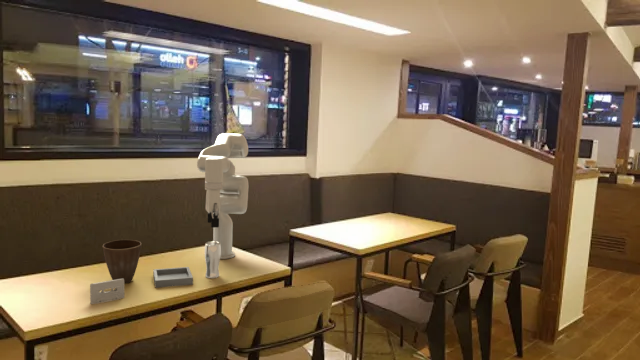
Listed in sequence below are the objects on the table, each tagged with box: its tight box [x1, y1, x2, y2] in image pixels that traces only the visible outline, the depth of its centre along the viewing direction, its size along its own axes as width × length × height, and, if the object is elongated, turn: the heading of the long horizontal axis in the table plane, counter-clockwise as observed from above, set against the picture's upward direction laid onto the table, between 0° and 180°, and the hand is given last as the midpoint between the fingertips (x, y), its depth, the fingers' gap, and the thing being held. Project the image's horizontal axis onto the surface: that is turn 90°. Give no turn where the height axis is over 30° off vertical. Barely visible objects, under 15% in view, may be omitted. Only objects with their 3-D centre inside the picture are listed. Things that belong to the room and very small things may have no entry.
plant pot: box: [102, 239, 142, 285], centre depth 200 cm, size 15×15×16 cm
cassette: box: [89, 278, 125, 305], centre depth 180 cm, size 12×2×8 cm, turn 129°
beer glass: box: [204, 241, 221, 279], centre depth 212 cm, size 7×7×15 cm
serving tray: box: [152, 266, 194, 289], centre depth 205 cm, size 15×15×3 cm
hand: (213, 224), depth 209 cm, fingers open, 9 cm apart
